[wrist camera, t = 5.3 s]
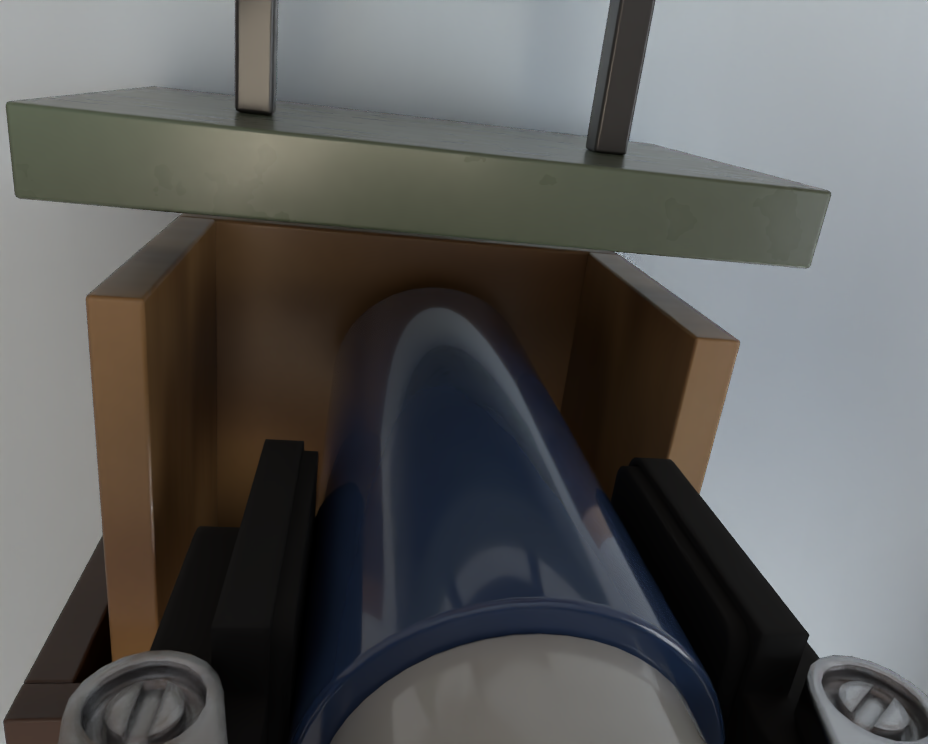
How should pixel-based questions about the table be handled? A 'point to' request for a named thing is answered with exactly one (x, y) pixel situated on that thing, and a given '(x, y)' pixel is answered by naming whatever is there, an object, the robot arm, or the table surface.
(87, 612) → the cabinet
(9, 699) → the table surface
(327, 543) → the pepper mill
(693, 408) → the drawer
